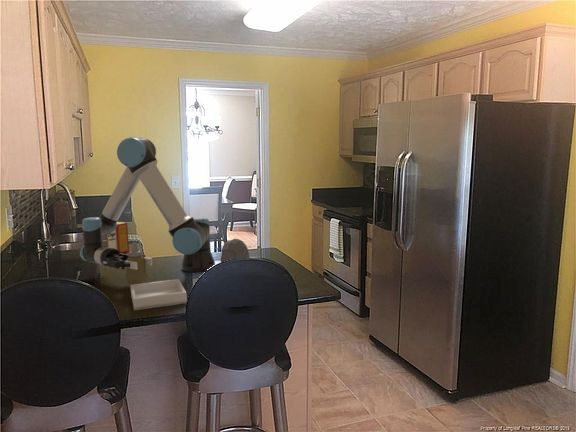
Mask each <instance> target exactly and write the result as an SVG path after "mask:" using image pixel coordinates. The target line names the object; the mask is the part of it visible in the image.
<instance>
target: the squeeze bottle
mask: <svg viewBox="0 0 576 432" xmlns="http://www.w3.org/2000/svg"><path fill="white" fill-rule="evenodd" d="M128 254H129V256H130V257H128V258H127V261H132V262H137V266H138V269H137V270H135V269H130V268H126V274H125V276H126V277H125V280H126V282H127V284H128V287H129V288H130V289H131V287H130V285H134V284H142V283H147V279H148V272H147V267H146V266H147V265H146V264H145V260H144V257H143V256H141V255H142V251H141V250H139V248H138V244H137V242H135V241H134V242H132V246H131V250H129V252H128Z"/></svg>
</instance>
